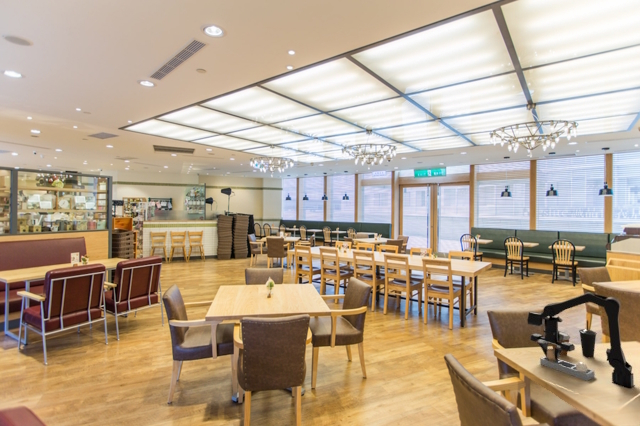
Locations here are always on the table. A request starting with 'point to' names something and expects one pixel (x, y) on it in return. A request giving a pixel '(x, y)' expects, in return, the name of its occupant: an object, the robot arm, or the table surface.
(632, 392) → the table surface
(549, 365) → the egg tray
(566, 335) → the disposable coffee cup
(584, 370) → the cream egg
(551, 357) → the brown egg
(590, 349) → the drinking cup
